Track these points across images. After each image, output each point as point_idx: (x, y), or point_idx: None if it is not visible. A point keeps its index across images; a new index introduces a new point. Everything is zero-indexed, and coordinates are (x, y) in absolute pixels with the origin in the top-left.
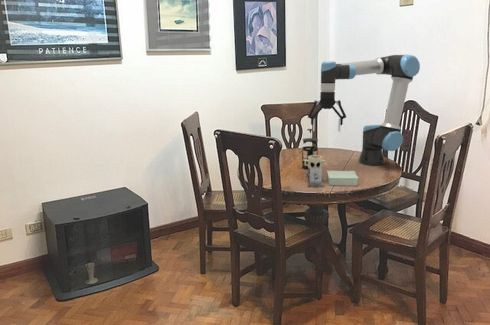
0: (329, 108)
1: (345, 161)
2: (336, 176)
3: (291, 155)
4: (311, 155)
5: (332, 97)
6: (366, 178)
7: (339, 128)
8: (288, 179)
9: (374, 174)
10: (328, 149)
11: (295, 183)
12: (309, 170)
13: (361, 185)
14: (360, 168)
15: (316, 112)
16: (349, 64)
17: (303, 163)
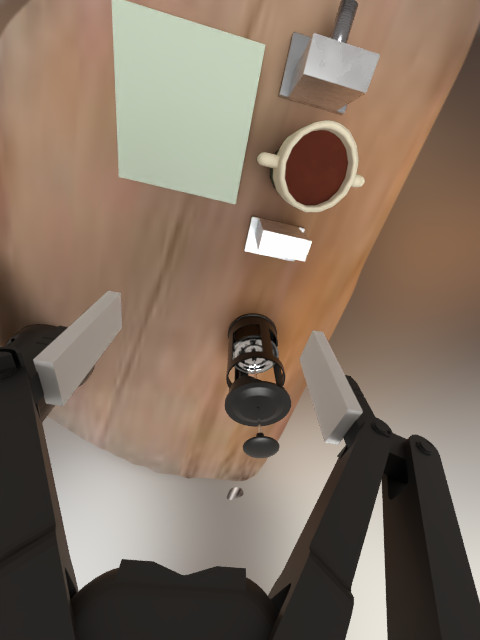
0: (133, 578)
1: (133, 375)
2: (220, 73)
3: None
4: (325, 206)
5: None
6: (80, 160)
7: (103, 304)
8: (379, 205)
9: (46, 216)
10: (159, 464)
11: (383, 135)
12: (298, 230)
13: (111, 25)
14: (94, 300)
15: (365, 500)
16: None
17: (276, 337)
